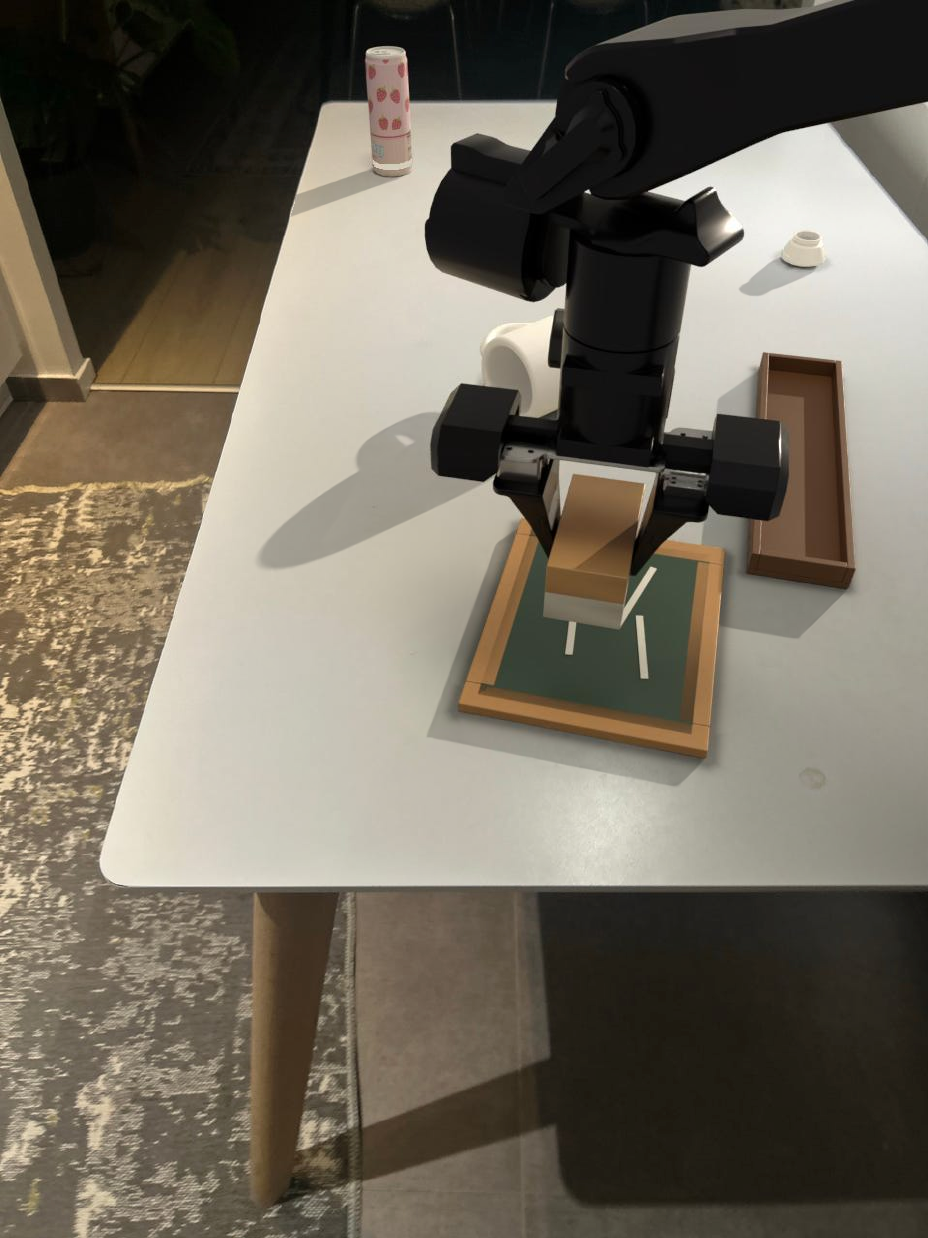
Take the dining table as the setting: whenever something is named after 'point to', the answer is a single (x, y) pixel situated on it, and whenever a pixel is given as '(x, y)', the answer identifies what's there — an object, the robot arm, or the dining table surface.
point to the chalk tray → (807, 475)
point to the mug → (522, 364)
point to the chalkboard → (605, 653)
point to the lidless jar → (804, 249)
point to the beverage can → (389, 108)
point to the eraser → (593, 551)
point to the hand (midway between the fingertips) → (594, 565)
